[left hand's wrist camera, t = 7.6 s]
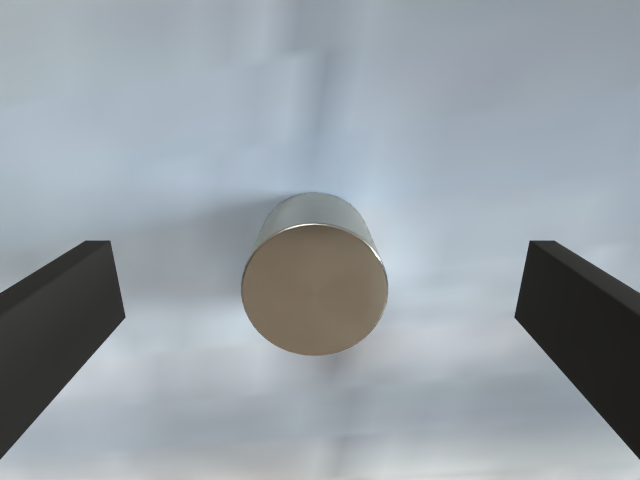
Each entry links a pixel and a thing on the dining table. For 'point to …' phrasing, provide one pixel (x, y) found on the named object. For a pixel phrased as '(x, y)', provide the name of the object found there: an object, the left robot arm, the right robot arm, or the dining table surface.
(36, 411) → the left robot arm
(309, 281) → the canister
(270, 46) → the dining table surface
